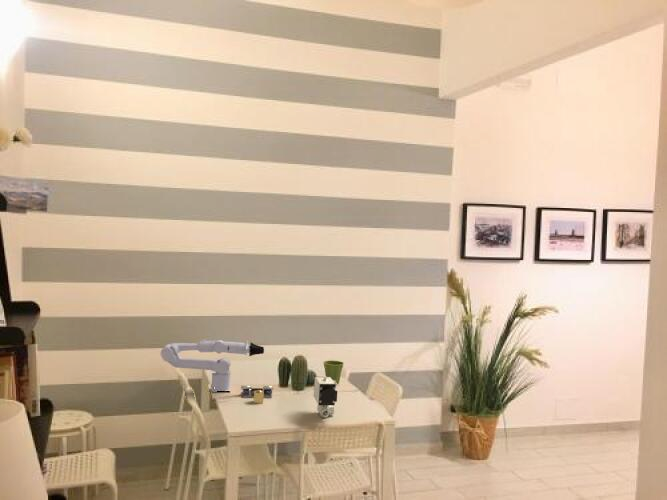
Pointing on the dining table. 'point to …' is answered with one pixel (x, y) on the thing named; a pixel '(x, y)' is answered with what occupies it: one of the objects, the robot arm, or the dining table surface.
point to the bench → (249, 391)
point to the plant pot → (333, 369)
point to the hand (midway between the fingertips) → (263, 350)
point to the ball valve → (325, 395)
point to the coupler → (258, 396)
